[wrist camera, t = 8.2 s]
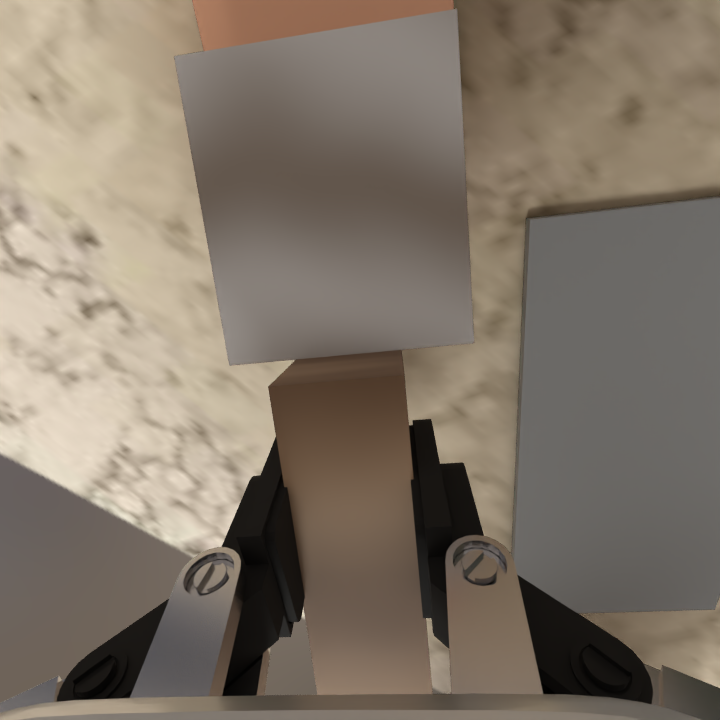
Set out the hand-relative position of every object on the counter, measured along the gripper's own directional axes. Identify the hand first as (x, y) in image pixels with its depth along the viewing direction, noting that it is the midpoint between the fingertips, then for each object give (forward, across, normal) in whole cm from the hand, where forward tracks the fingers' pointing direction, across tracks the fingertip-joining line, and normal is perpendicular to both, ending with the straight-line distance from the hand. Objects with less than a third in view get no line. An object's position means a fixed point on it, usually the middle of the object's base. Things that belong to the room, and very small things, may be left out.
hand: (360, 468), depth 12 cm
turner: (+1, 0, -1) cm, 2 cm away
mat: (+8, -13, +7) cm, 17 cm away
